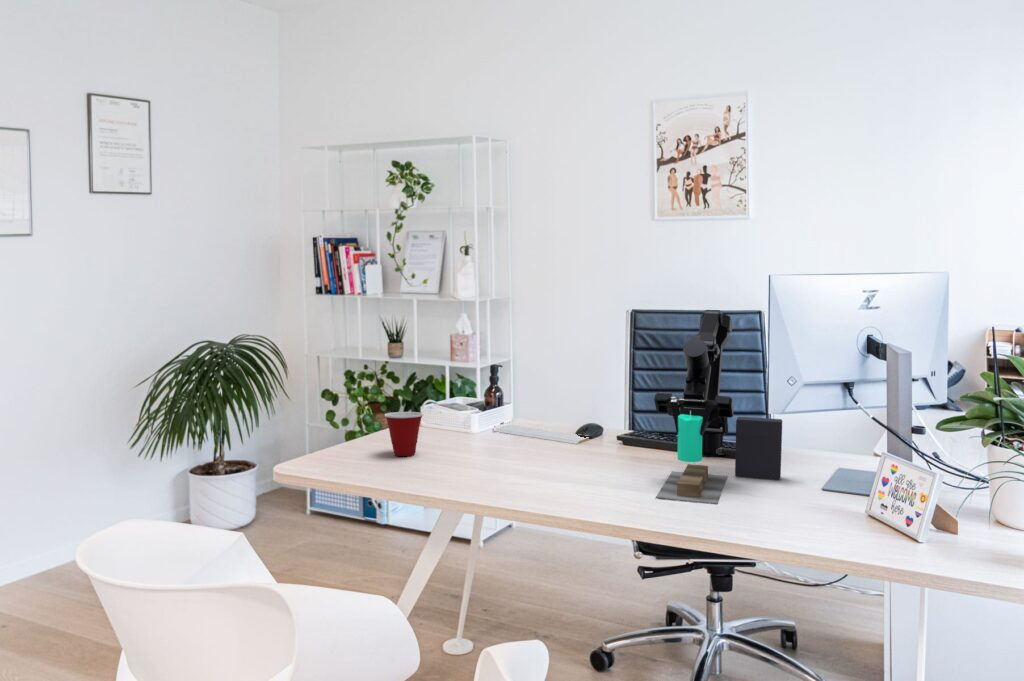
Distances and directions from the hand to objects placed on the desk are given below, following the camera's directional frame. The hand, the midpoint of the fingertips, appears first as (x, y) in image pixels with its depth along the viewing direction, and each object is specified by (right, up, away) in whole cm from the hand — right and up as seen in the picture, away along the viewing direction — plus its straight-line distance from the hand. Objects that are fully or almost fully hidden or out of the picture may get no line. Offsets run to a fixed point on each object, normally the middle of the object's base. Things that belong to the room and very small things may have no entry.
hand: (689, 433), depth 211 cm
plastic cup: (-73, -10, +35) cm, 82 cm away
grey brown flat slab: (+1, -13, +1) cm, 13 cm away
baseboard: (-34, -8, +58) cm, 67 cm away
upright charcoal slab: (+19, -12, +10) cm, 25 cm away
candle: (0, -7, +2) cm, 7 cm away
